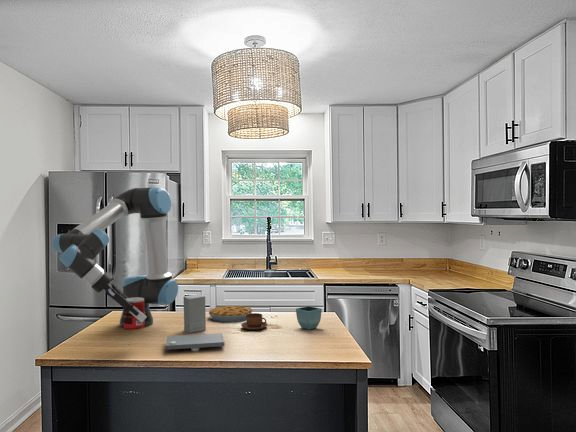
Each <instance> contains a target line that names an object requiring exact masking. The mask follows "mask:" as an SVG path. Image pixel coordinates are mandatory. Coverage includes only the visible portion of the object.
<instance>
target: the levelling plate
mask: <svg viewBox="0 0 576 432" xmlns="http://www.w3.org/2000/svg"><path fill="white" fill-rule="evenodd" d="M225 346H226V345H225V339H224V336H223V333H222V332H220V333H219V332H217V333H215V332H214V333H199V334H197V333H196V334H183V335H182V334H181V335H180V334H179V335H167V336H166V342H165V350H166V351H167V350H168V351H169V350H181V349H182V350H183V349H191V350H190V351H191V352H199V351H200V348H201V349H202V348H215V347H216V348H217V347H225Z"/></svg>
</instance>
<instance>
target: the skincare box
mask: <svg viewBox="0 0 576 432" xmlns="http://www.w3.org/2000/svg"><path fill="white" fill-rule="evenodd" d="M206 324H207V322H206V296H205V295H203V294H201V293H199V294H191V295H183V330H184V332H187V333H188V334H192V333H196V332H202V331H206V330H207V327H206V326H207V325H206Z"/></svg>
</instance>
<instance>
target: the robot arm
mask: <svg viewBox="0 0 576 432" xmlns="http://www.w3.org/2000/svg"><path fill="white" fill-rule="evenodd" d="M171 208H172V198H171V195H170V193H169V192H168V191H167V190H166V188H164V187H163V188H162V187H156V186H155V187H154V186H153V187H152V186H151V187H134V188H131V189H128V190H126V191H123V192H122V193H120V194H118V195H117V196H115V197H113V198H112V199H111V200H110V201H109V204H107V205H106V206H105V207H103V208H101V209H100V210H99V211H97V212H96V213H94V214H92V216H90V217H88V218H87V219H86V220H84V221H83V222H82V223H80V224H79V225H77V226H76V227H74V228H73V229H71V230H70V231H68V232H66V233H58V234H57V235H54V237H53V239H52V243H51V245H52V249H53V250H54V251H55V252H57V253H60V255H59V257H58V259H59V261H60V262H61V263H62V264H63V265H64V267H66V268H67V269H69V270H70V271H71V272H73V274H75V275H76V276H77V277H79V278H80V279H82V283H83V284H84V283H86V284H87V285H89V286H91V289H93V290H94V291H95V292H96V293H100V292H102V291H103V290H104V291H105V294H106V295H107V296H109V297H110V298H111V299H112V300H114V302H116V303H117V304H119V306H121V307H122V308H124V309H125V310H126V313H128V312H130V313H131V314H132V315H133V316H134V317H136V318H137V319H138V320H139V321H140V322H143V321H144V320H145V325H144V327H143V328H145V327H149V326H151V325H153V324H154V318H153V315H152V313H151V309H150V305H159V306H165V305H166V306H167V305H171V304H172V303H173V302H174V301H175V300H176V297H177V296H178V292H179V284H178V282H177V280H175V279H173V274H172V272H170V271H169V266H168V256H167V255H168V253H167V241H166V239H167V238H166V231H165V230H166V228H165V219H166V218H167V217H168V215H167V213H169V212H170V210H171ZM134 214H139V215H140V216H139V217H140V220H141V221H143V222H144V229H145V231H144V232H145V242H146V254H147V265H148V266H147V268H148V273H147V274H141V275H135V276H127V277H125V278H124V279H123V284H122V291H121V290H120V289H119V288H118V287H117V286H116V285H115V284H112V283H111V282H112V280H113V276H112V275H110V274H109V273H108V272H107V271H105V270H104V268H102V266H100V265H99V264H98V263H97V262H95V261H94V259H95V258H96V257H97V256H98V255H99V254H100V253H101V252H102V251H103V250H104V249H105V248H106V246H107V245H108V244H109V242H110V238H109V235H108V233H106V231H104V230H105V229H107V228H108V227H110V226H111V225H113V224H114V223H115V222H116V221H118V220H119V219H123V218H125V217H127V216H129V215H134ZM133 297H141V298H144V313H145V315H144V314H143V313H142V312H141V311H139V310H138V309H137V308H136V307H135V306H133V305H131V304H130V303H129V302H128V301H127V300H126V299H127V298H133ZM119 327H121V328H124V320H123V311H122V312H121V316H120V319H119Z"/></svg>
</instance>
